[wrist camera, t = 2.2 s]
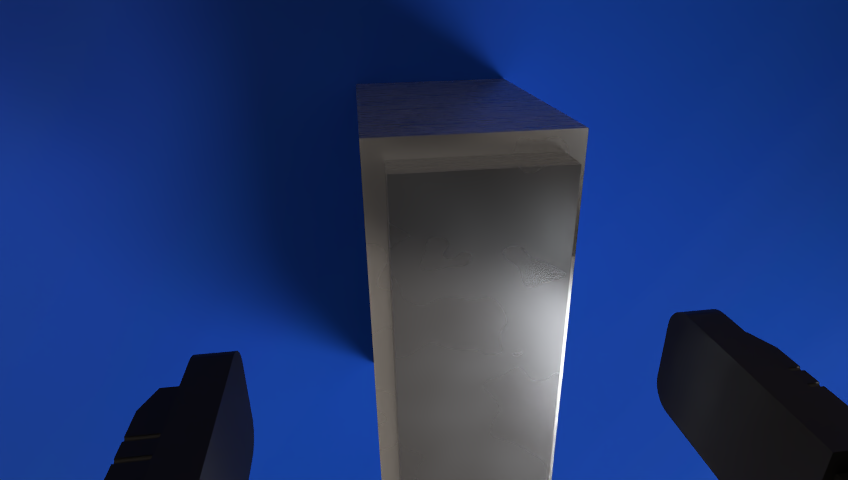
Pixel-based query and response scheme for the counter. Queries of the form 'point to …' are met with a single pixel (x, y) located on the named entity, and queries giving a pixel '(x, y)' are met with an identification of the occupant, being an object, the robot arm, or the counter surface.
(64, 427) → the counter surface
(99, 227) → the counter surface
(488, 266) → the block
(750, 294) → the counter surface
